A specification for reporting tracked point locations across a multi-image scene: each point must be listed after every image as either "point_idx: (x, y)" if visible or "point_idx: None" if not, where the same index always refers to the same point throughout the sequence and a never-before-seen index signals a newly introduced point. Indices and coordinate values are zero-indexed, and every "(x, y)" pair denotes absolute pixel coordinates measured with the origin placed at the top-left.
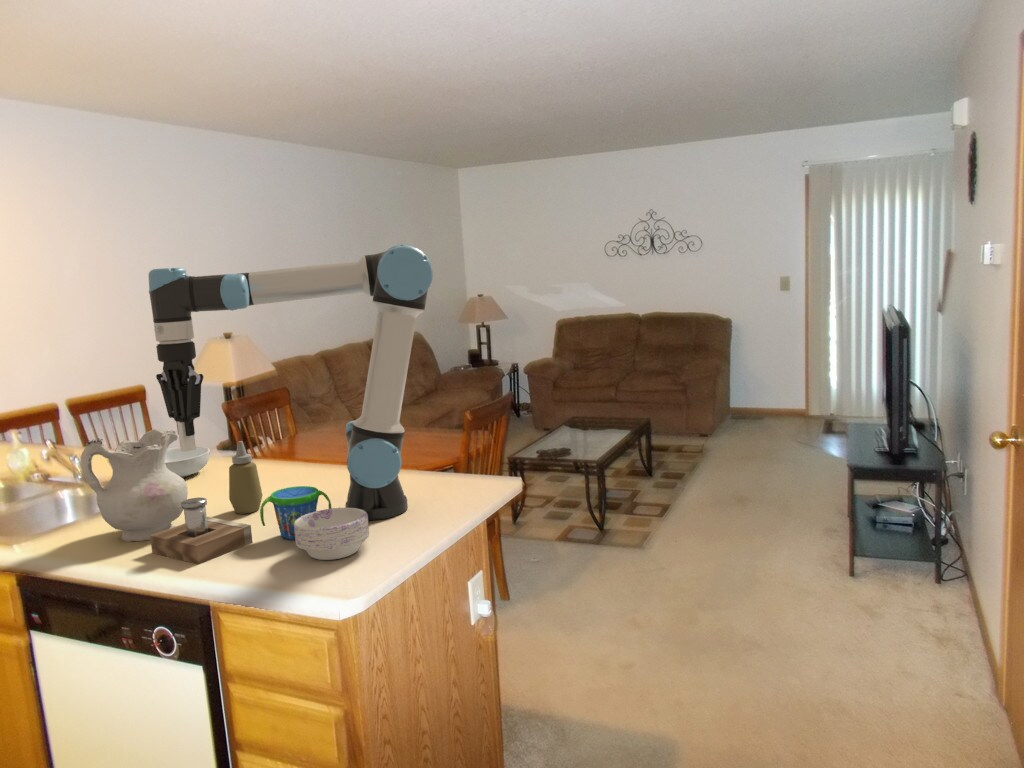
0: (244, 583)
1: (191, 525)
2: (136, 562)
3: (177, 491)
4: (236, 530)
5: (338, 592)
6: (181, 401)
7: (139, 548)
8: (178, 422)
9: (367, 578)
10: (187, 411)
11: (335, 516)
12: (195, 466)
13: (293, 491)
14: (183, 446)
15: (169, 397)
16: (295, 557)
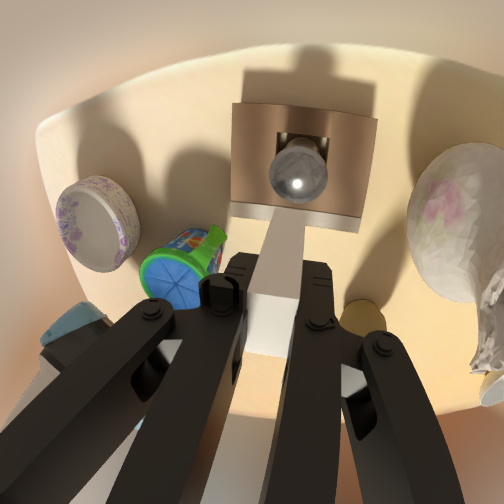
0: (124, 92)
1: (292, 145)
2: (357, 76)
3: (414, 242)
4: (232, 188)
5: (47, 135)
6: (161, 433)
7: (410, 132)
8: (284, 295)
9: (50, 171)
10: (136, 340)
11: (114, 256)
12: (486, 379)
13: (191, 298)
14: (279, 218)
15: (395, 491)
16: (136, 181)
